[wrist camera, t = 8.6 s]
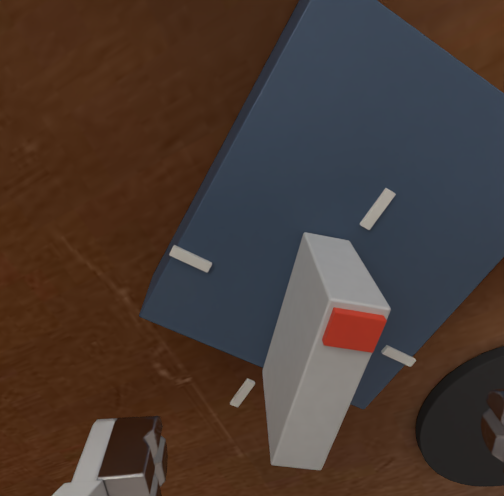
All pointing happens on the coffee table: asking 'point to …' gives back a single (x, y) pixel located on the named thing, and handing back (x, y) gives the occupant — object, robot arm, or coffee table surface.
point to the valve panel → (343, 188)
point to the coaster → (462, 422)
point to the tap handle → (319, 349)
